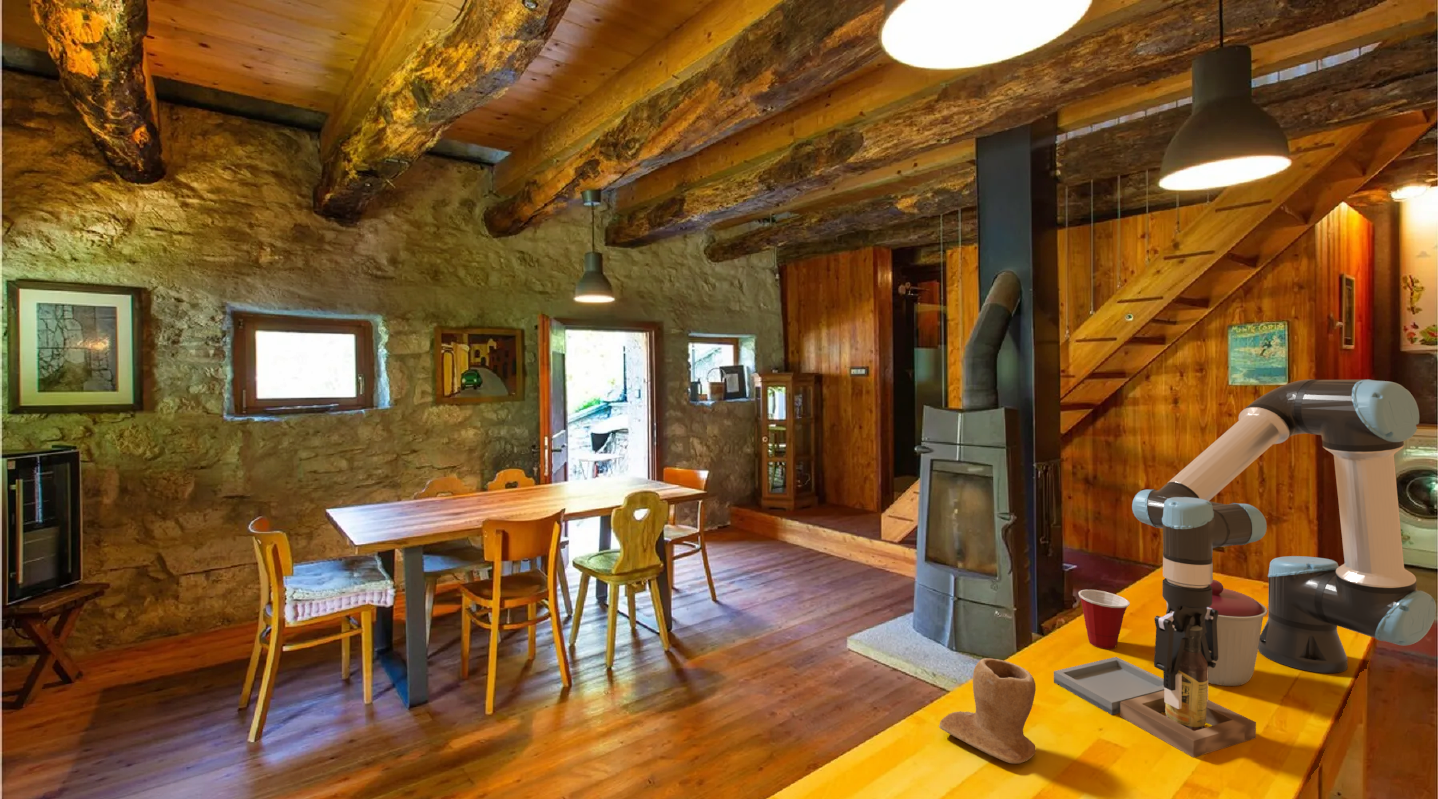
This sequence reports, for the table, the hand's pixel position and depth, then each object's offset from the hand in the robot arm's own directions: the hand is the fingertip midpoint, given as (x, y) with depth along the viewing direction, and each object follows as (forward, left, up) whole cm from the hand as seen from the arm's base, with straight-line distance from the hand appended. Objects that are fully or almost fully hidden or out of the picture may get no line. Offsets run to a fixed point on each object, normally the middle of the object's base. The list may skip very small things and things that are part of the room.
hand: (1186, 701), depth 121 cm
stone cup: (+37, -9, -5) cm, 39 cm away
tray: (0, -15, -5) cm, 16 cm away
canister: (-25, -12, -5) cm, 28 cm away
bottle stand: (0, 0, -5) cm, 5 cm away
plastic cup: (-17, -32, -5) cm, 37 cm away
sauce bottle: (0, 0, -5) cm, 5 cm away
